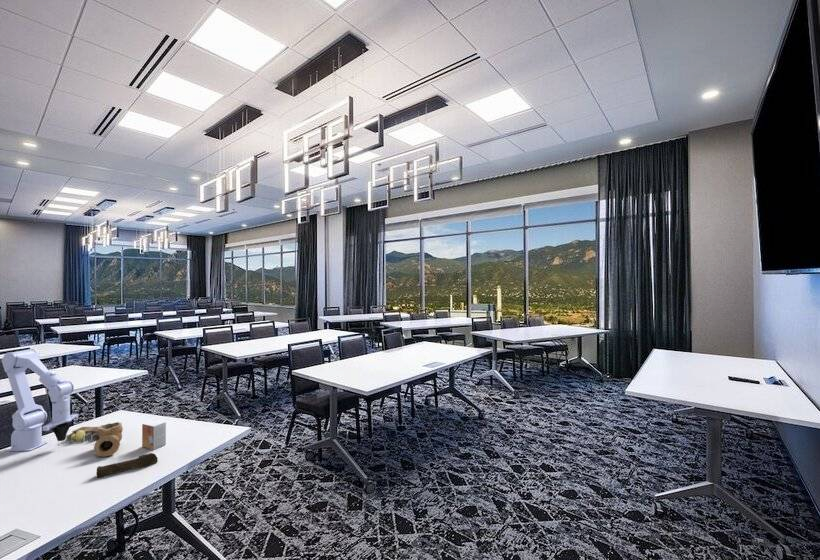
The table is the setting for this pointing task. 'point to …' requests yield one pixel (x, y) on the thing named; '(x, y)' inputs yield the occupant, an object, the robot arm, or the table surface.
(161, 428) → the small box
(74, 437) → the knob
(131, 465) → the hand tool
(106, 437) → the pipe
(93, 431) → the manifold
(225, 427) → the table surface
